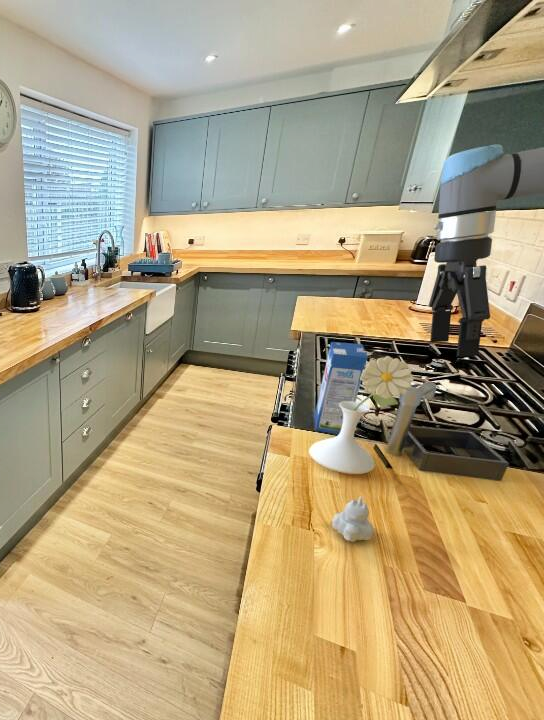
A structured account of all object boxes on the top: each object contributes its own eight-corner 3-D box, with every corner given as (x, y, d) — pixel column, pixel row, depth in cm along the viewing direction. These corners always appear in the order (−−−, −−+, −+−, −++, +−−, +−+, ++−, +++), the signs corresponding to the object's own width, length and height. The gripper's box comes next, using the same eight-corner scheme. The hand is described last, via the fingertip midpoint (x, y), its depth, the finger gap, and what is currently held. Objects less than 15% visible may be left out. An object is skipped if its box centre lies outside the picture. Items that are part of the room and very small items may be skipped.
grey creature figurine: (370, 532, 71) (383, 494, 68) (367, 556, 66) (380, 516, 63) (332, 519, 74) (342, 482, 71) (326, 541, 70) (337, 503, 67)
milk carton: (346, 435, 99) (367, 356, 92) (315, 430, 102) (333, 353, 95) (343, 418, 107) (362, 344, 99) (314, 413, 110) (331, 341, 102)
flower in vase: (302, 467, 89) (328, 357, 79) (312, 444, 97) (336, 341, 87) (380, 489, 81) (419, 370, 71) (384, 462, 89) (419, 351, 79)
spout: (419, 393, 90) (424, 376, 89) (438, 398, 87) (444, 381, 86) (394, 406, 86) (399, 388, 84) (413, 411, 83) (419, 394, 81)
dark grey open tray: (464, 454, 90) (473, 431, 88) (498, 488, 79) (509, 463, 77) (393, 446, 94) (400, 424, 92) (416, 477, 84) (424, 453, 82)
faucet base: (395, 450, 92) (412, 396, 87) (410, 470, 86) (430, 413, 80) (373, 448, 94) (389, 394, 89) (386, 467, 87) (404, 410, 82)
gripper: (415, 242, 91) (408, 337, 96) (465, 241, 70) (452, 363, 75) (461, 236, 88) (451, 335, 93) (529, 233, 66) (511, 362, 72)
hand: (452, 348), depth 84 cm, fingers open, 13 cm apart
